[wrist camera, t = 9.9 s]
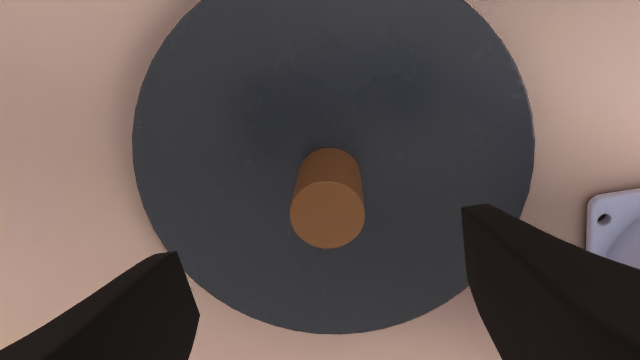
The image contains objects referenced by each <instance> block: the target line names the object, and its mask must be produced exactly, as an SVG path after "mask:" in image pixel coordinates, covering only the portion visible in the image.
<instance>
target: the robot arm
mask: <svg viewBox="0 0 640 360" xmlns="http://www.w3.org/2000/svg"><path fill="white" fill-rule="evenodd" d="M603 214H606V216H605V218H604V219H603V220H601V221H597V220H598V218H599V217H600V216H601V215H603ZM461 217H462V228H463V240H464V251H465V263H466V274H467V280H468V283H469V286H470V289H471V292H472V295H473V298H474V301H475V303H476V306H477V309H478V312H479V314H480V316H481V318H482V320H483V322H484V324H485V326H486V328H487V330H488V332H489V334H490V336H491V338H492V340H493V342H494V344H495V346H496V348H497V350H498V352H499V354H500V356H501V358H502V360H640V188H637V189H630V190H624V191H617V192H610V193H604V194H599V195H596V196H594V197H593V198H591V200H590V201H589V202H588V206H587V232H586V250H584V249H582V248H580V247H577V246H575V245H573V244H570V243H568V242H565V241H563V240H561V239H559V238H557V237H554V236H552V235H550V234H548V233H546V232H544V231H542V230H540V229H538V228H536V227H534V226H532V225H530V224H528V223H526V222H524V221H522V220H520V219H518V218H516V217H514V216H512V215H510V214H508V213H506V212H504V211H502V210H500V209H498V208H496V207H494V206H492V205H490V204H487V203H485V204H478V205H472V206H465V207H461ZM199 317H200V314H199V311H198V308H197V305H196V303H195V300H194V297H193V294H192V291H191V289H190V286H189V283H188V280H187V278H186V275H185V272H184V269H183V267H182V264H181V261H180V258H179V256H178V253H177V251H173V252H166V253H160V254H154V255H152V256H150V257H148V258H146V259H145V260H143V261H141V262H140V263H138V264H136V265H135V266H133V267H132V268H130V269H129V270H127V271H126V272H124V273H123V274H121V275H120V276H118V277H117V278H115V279H114V280H112V281H111V282H109V283H108V284H106V285H105V286H103V287H102V288H100V289H99V290H98V291H96V292H95V293H93V294H92V295H90V296H89V297H87V298H86V299H84V300H83V301H81V302H80V303H78V304H77V305H75V306H73V307H72V308H70V309H69V310H67V311H66V312H64V313H63V314H61V315H59V316H58V317H56V318H55V319H53V320H52V321H50V322H49V323H47V324H45V325H44V326H42V327H40V328H39V329H37V330H35V331H34V332H32V333H30V334H29V335H27V336H25V337H23V338H22V339H20V340H18V341H16V342H14V343H13V344H11V345H9V346H7V347H5V348H4V349H2V350H0V360H188V358H189V355H190V353H191V350H192V346H193V342H194V339H195V335H196V331H197V326H198V322H199Z"/></svg>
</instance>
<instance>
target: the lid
mask: <svg viewBox="0 0 640 360" xmlns="http://www.w3.org/2000/svg"><path fill="white" fill-rule="evenodd" d="M132 145H133V164H134V170H135V176H136V182H137V187H138V190H139V193H140V196H141V200H142V203H143V206H144V209H145V211H146V213H147V215H148V218H149V220H150V222H151V224H152V227H153V229H154V230H155V232H156V234H157V235H158V237H159V239H160V240H161V242H162V243H163V245H164V247H165V248H166V250H167V251H168V252H173V251H177V253H178V256H179V258H180V261H181V264H182V267H183V269H184V271H185V272H186V273H187V274H188V275H189V276H190V277H191V278H192V279H193V280H194V281H195V282H196V283H197V284H198V285H200V286H201V287H202V288H204V289H205V290H206V291H207V292H209V293H210V294H211V295H212V296H214V297H215V298H217V299H218V300H220V301H222V302H223V303H225V304H226V305H228V306H230V307H231V308H233V309H235V310H237V311H239V312H241V313H243V314H245V315H247V316H250V317H252V318H254V319H257V320H260V321H262V322H265V323H268V324H271V325H274V326H278V327H282V328H286V329H290V330H294V331H301V332H308V333H316V334H351V333H363V332H368V331H374V330H379V329H384V328H388V327H391V326H395V325H398V324H401V323H405V322H407V321H410V320H412V319H414V318H417V317H419V316H422V315H424V314H426V313H428V312H430V311H432V310H434V309H435V308H437V307H439V306H441V305H443V304H444V303H446V302H448V301H449V300H450V299H452V298H453V297H455V296H456V295H457V294H459V293H460V292H462V291H463V290H464V289H466V288H467V287H468V286H469V283H468V280H467V274H466V263H465V251H464V240H463V228H462V217H461V207H465V206H472V205H478V204H485V203H487V204H490V205H492V206H494V207H496V208H498V209H500V210H502V211H504V212H506V213H508V214H510V215H512V216H514V217H516V218H518V219H519V218H520V216H521V213H522V210H523V208H524V205H525V202H526V199H527V196H528V193H529V188H530V183H531V178H532V173H533V168H534V149H535V137H534V127H533V116H532V112H531V108H530V103H529V99H528V95H527V91H526V88H525V86H524V83H523V81H522V78H521V76H520V73H519V71H518V69H517V66H516V64H515V62H514V60H513V59H512V57H511V55H510V54H509V52H508V50H507V49H506V47H505V45H504V44H503V42H502V40H501V39H500V38H499V37H498V35H497V34H496V33H495V32H494V30H493V29H492V28H491V27H490V26H489V24H488V23H487V22H486V21H485V19H484V18H483V17H482V16H481V15H480V14H478V13H477V12H476V11H475V10H474V9H473V8H472V7H471V6H470V5H468V4H467V3H466V2H465V1H464V0H201V1H200V2H199V3H198V4H197V5H196V6H195V7H194V8H193V9H191V10H190V11H189V12H188V13H187V14H186V15H185V16H184V17H183V18H182V19H181V20H180V22H179V23H178V24H177V25H176V26H175V28H174V29H173V30H172V31H171V32H170V34H169V35H168V36H167V37H166V39H165V40H164V42H163V44H162V45H161V47H160V49H159V50H158V52H157V54H156V55H155V57H154V59H153V60H152V62H151V64H150V67H149V69H148V72H147V74H146V76H145V79H144V81H143V84H142V86H141V90H140V94H139V98H138V101H137V105H136V109H135V116H134V125H133V134H132Z"/></svg>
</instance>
